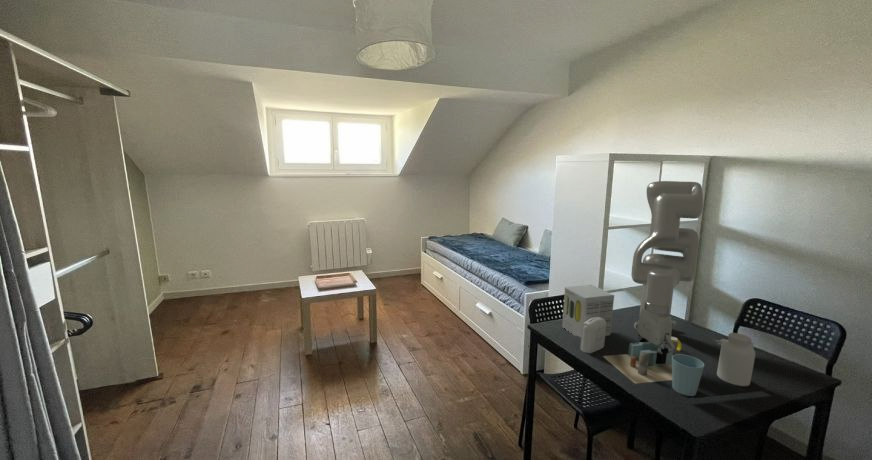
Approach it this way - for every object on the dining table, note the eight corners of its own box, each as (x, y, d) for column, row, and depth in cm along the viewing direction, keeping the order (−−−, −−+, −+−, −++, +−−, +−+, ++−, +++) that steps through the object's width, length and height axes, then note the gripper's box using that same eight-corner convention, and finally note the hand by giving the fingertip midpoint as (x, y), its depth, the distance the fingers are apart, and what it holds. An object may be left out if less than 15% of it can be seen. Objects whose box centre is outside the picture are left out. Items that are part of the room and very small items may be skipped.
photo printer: (594, 344, 133) (597, 313, 131) (605, 349, 129) (608, 317, 127) (577, 352, 127) (580, 319, 125) (588, 357, 124) (591, 324, 122)
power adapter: (712, 352, 127) (714, 337, 126) (709, 346, 132) (711, 332, 131) (752, 360, 122) (755, 344, 121) (748, 354, 127) (750, 338, 126)
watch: (667, 357, 125) (668, 341, 124) (661, 353, 128) (662, 337, 127) (682, 354, 126) (683, 339, 125) (676, 350, 128) (677, 335, 127)
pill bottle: (727, 388, 107) (734, 341, 104) (710, 373, 114) (717, 329, 112) (756, 390, 106) (764, 343, 103) (737, 375, 113) (745, 331, 111)
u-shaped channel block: (654, 352, 125) (656, 340, 124) (671, 363, 118) (672, 351, 117) (627, 355, 123) (629, 343, 122) (643, 366, 116) (644, 353, 115)
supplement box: (561, 327, 148) (563, 286, 145) (588, 323, 151) (591, 284, 148) (582, 342, 135) (585, 298, 132) (611, 337, 138) (615, 294, 135)
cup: (689, 386, 107) (694, 354, 106) (706, 402, 100) (710, 368, 98) (663, 384, 108) (666, 353, 106) (677, 400, 101) (681, 367, 99)
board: (654, 355, 126) (656, 334, 124) (693, 381, 110) (696, 358, 109) (602, 359, 123) (604, 338, 121) (634, 387, 107) (637, 363, 106)
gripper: (628, 298, 125) (624, 345, 128) (668, 319, 108) (661, 372, 111) (648, 297, 126) (642, 344, 129) (689, 317, 109) (682, 370, 112)
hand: (651, 357), depth 120 cm, fingers closed on u-shaped channel block, 7 cm apart
